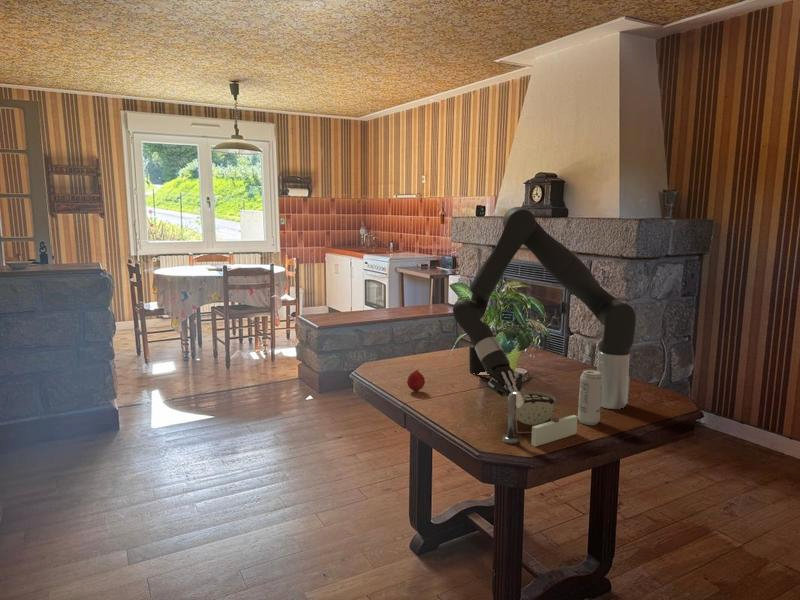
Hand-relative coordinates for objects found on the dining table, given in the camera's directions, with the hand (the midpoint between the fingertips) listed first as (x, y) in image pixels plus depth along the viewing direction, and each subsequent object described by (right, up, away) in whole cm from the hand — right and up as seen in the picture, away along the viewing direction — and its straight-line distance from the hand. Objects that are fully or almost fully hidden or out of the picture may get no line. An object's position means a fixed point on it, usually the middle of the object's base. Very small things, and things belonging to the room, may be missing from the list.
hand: (519, 406), depth 157 cm
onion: (-29, -1, +27) cm, 40 cm away
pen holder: (-3, +3, +50) cm, 51 cm away
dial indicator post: (-5, -7, -12) cm, 14 cm away
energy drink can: (+21, -5, +2) cm, 21 cm away
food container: (+2, -6, -3) cm, 7 cm away
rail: (+7, -7, -10) cm, 14 cm away
